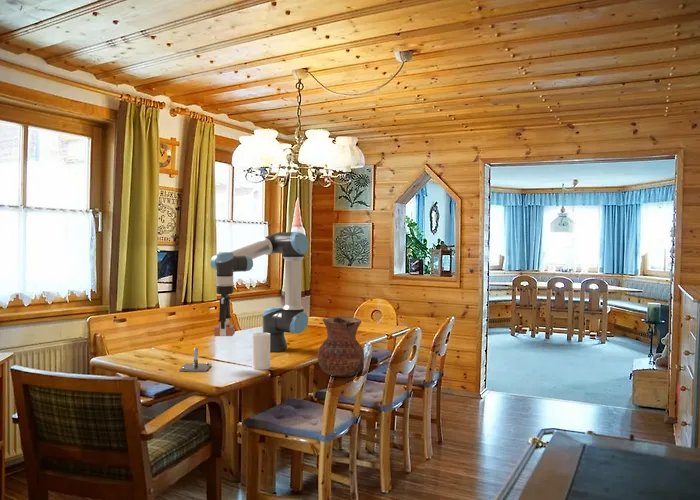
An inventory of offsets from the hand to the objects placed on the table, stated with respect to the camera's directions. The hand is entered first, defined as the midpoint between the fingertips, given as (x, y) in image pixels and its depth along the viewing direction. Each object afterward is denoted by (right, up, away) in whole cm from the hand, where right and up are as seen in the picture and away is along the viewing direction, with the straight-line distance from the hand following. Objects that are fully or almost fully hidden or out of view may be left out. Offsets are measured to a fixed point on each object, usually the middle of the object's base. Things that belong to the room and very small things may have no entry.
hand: (224, 334), depth 254 cm
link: (0, 0, 0) cm, 0 cm away
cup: (+17, -17, +3) cm, 24 cm away
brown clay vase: (+54, -17, -6) cm, 57 cm away
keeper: (-13, -16, -1) cm, 21 cm away
